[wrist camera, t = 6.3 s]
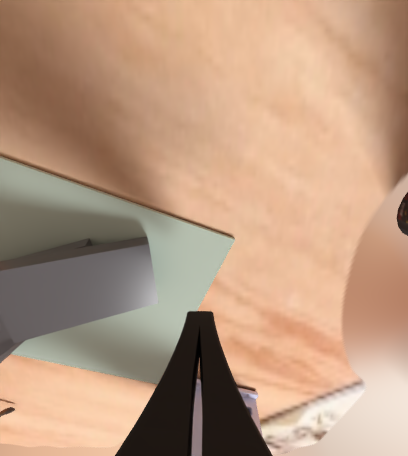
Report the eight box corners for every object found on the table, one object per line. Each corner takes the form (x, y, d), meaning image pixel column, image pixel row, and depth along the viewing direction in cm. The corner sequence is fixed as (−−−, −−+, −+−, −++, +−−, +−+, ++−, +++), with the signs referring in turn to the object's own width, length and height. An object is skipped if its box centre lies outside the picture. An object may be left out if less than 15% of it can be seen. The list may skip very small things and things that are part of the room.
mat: (234, 237, 15) (234, 239, 15) (158, 381, 25) (157, 384, 24) (-22, 148, 12) (-28, 148, 12) (6, 349, 22) (3, 352, 22)
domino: (149, 244, 13) (-21, 274, 10) (158, 303, 15) (14, 343, 12) (147, 236, 15) (-2, 261, 12) (156, 291, 16) (26, 324, 13)
